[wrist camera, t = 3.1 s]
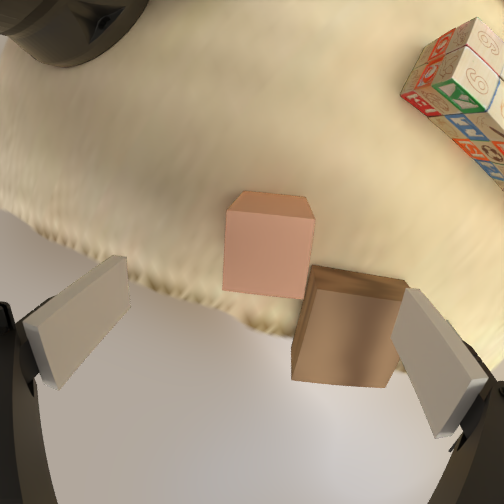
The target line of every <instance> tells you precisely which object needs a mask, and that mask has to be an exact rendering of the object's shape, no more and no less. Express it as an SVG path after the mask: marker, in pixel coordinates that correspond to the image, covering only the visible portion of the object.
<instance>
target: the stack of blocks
mask: <svg viewBox="0 0 504 504" xmlns="http://www.w3.org/2000/svg"><path fill="white" fill-rule="evenodd" d="M400 96H401V97H402V98H404V99H405V100H406V101H408V102H409V103H411V104H412V105H413V106H414V107H416V108H417V109H418V110H420V111H421V112H422V113H424V114H425V115H426V116H428V118H429V120H431V121H432V122H433V123H434V124H435V125H437V126H438V127H439V128H440V129H441V130H442V131H444V132H445V133H446V134H447V135H448V136H449V137H451V138H452V139H453V140H454V141H455V142H456V143H457V144H458V145H459V146H460V147H461V148H462V149H463V150H464V151H465V152H466V153H467V154H468V155H469V156H470V157H471V158H473V159H474V160H475V161H476V162H477V163H478V164H479V165H480V166H481V167H482V168H483V169H484V170H485V171H486V172H487V173H488V175H489V176H490V177H492V178H493V180H494V181H495V182H496V183H497V184H498V185H499V186H500V188H501V189H502V190H503V191H504V42H503V41H502V40H501V39H500V38H499V37H498V36H497V35H496V34H495V33H494V32H493V31H492V30H491V29H490V28H489V27H488V26H487V25H486V24H485V23H484V22H483V21H482V20H481V19H479V18H478V17H476V18H474V19H472V20H470V21H468V22H466V23H464V24H462V25H461V26H459V27H457V28H454V29H452V30H450V31H449V32H447V33H445V34H444V35H442V36H441V37H439V38H438V39H436V40H435V41H433V42H432V43H430V44H429V45H427V46H426V47H425V48H424V50H423V52H422V54H421V56H420V58H419V60H418V61H417V63H416V65H415V67H414V69H413V71H412V72H411V74H410V76H409V78H408V80H407V81H406V83H405V85H404V87H403V89H402V92H401V94H400Z"/></svg>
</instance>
